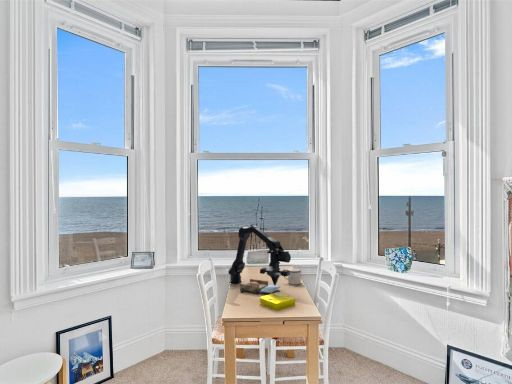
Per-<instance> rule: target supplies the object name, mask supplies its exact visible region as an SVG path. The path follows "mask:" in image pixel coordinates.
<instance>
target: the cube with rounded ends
mask: <svg viewBox="0 0 512 384" xmlns="http://www.w3.org/2000/svg"><path fill="white" fill-rule="evenodd" d="M249 282H250V281H249ZM249 282H248V283H249ZM249 285H252V286H259V283H257V282H250V283H249Z"/></svg>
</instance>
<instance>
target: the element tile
mask: <svg viewBox="0 0 512 384" xmlns="http://www.w3.org/2000/svg"><path fill="white" fill-rule="evenodd" d="M259 305H260V306H263V307H264V308H268V309H270V310H272V311H275V312H279V311H282V310H286V309H289V308H291V307H295V306H296V297H294V296H291V295H288V294H287V293H286V294H285V293H282V292H280V291H278V292H277V291H276V292H272V293H269V294H266V295H261V296H260V297H259Z"/></svg>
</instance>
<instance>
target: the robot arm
mask: <svg viewBox="0 0 512 384" xmlns="http://www.w3.org/2000/svg"><path fill="white" fill-rule="evenodd" d="M251 233H252V234H254V235H255V236H257V237H258V238H259V239H260V240H262V241H263V242H264V243H265V245H266V247H267V248H268V251H267V252H266V253H267V254H269V255H270V256H269V261H270V262H269V263H268V264H269V265H268V266H267V267H262V268H260V270H259V274H261V275H262V274H263V275H264V274H265V273H266V275H267V276H268V277H270V279H271V281H272V283H273V284H272V285H277V283H278V280H279V278H280V277H284V276H285V277H288V275H290V271H289V270H288V269H282V270H281V268H280V264H281V262H282V263H287V264H288V263H290V262H291V258H292V257H291V254H290V252H289V251H288V250H287V251H285V250H284V249H283V246H282V244H281V242H280V241H279V240H277V239H276V238H273V237H271V236H269V235H268V234H267V233H266V232H264V231H263V229H261V228H260V227H259V226H257V225H253V226H251V227H249V226H245V227H240V228H239V229H238V234H237V235H238V240H239V241H238V246H237V251H236V255H235V259H234V260H233V262H232V265H231V268H230V269H229V270H228V274H229V275H230V281H229V284H234V285H238V284H241V283H242V275H241V274H242V273H243V270H244V269H245V265H246V263H245V262H244V256H245V251H246V245H247V241H248V239H250V237H251Z"/></svg>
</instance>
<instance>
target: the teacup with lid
mask: <svg viewBox="0 0 512 384" xmlns="http://www.w3.org/2000/svg"><path fill="white" fill-rule="evenodd" d="M287 270H289V271H290V275H288V276H287V277H286V276H283V278H284V280H286V281H288V284H290V285H300V284H301V283H302V280H301V279H302V269H300V268H298V267H297V266H296V265H292V267H289V268H288V269H287Z"/></svg>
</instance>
